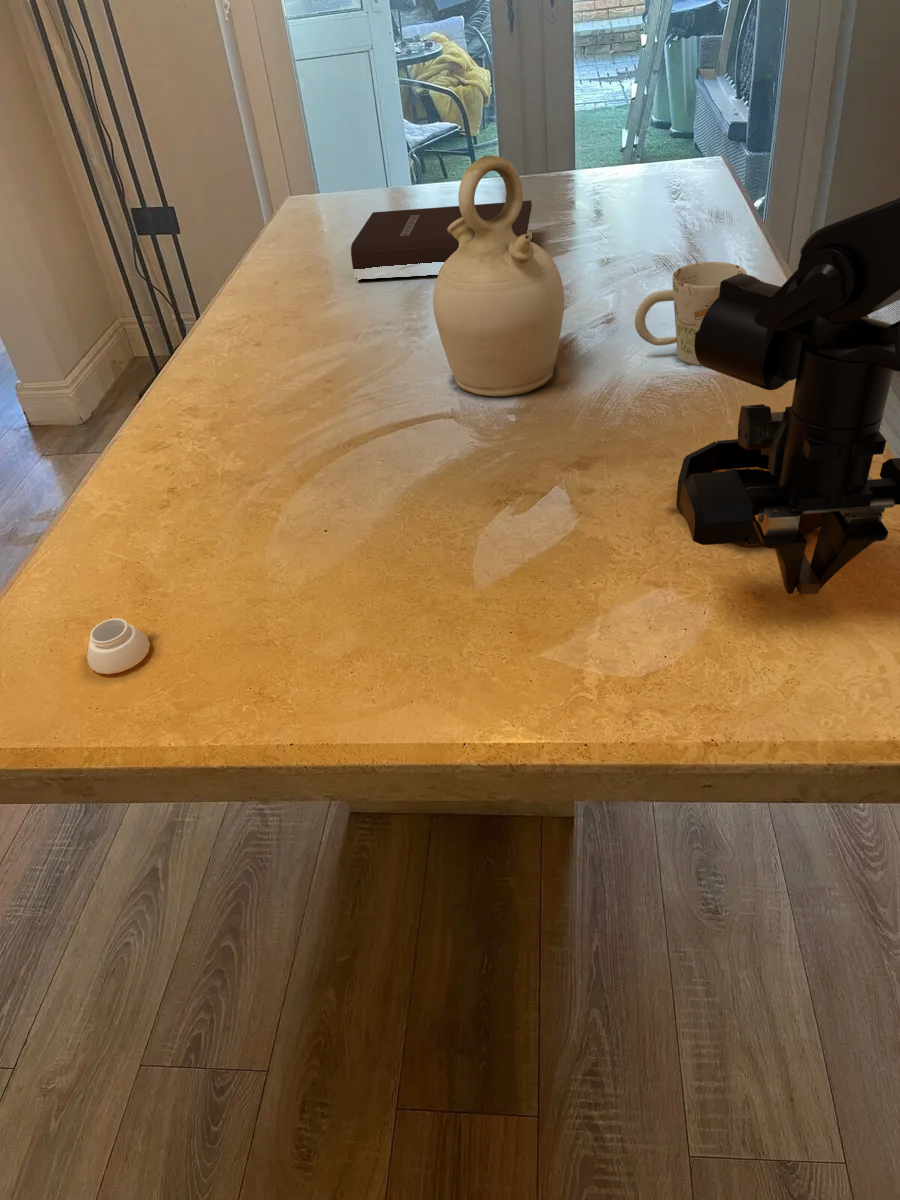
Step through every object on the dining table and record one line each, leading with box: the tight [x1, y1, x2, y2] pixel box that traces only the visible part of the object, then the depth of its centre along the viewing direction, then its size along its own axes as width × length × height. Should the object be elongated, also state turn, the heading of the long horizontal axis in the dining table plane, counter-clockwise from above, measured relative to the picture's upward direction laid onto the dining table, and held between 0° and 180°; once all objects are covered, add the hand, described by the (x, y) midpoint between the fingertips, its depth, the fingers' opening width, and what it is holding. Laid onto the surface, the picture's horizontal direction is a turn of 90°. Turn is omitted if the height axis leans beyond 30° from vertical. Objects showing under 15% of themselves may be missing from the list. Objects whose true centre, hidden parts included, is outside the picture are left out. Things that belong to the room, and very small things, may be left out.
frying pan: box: [675, 438, 822, 596], centre depth 74 cm, size 23×14×4 cm, turn 179°
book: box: [350, 200, 533, 270], centre depth 142 cm, size 28×20×6 cm
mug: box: [634, 261, 748, 366], centre depth 102 cm, size 8×13×10 cm, turn 89°
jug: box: [432, 155, 565, 397], centre depth 98 cm, size 15×16×25 cm
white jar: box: [86, 617, 151, 675], centre depth 70 cm, size 5×3×5 cm
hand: (800, 590), depth 67 cm, fingers closed on frying pan
